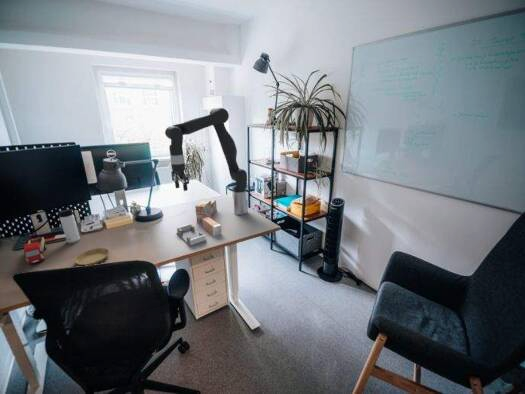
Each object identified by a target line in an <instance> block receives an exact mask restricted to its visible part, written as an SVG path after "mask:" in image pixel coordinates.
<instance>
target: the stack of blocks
mask: <svg viewBox="0 0 525 394" xmlns="http://www.w3.org/2000/svg"><path fill="white" fill-rule="evenodd" d="M217 211H218V209H217V199H212V198H211V199H202V200H201V201H199V202H197V204H195V215H196V216H195V217H196V223H202V224H203V221H202V219H203V218H207V217H209V218H211V219H212V216H214V215H215V214H216V212H217Z"/></svg>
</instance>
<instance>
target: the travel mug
mask: <svg viewBox="0 0 525 394" xmlns="http://www.w3.org/2000/svg"><path fill="white" fill-rule="evenodd" d="M57 213H58V216H59V220H60V223H61V226H62V230H63V234H64V236H65V239H66V242H67V244H75V243H78V242H80V241H81V237H80V236H81V235H80V233H79V229H78V226H77V221H76V218H75V216H74V213H73V210H72V208H67V209H63V210H59V211H58V212H57Z"/></svg>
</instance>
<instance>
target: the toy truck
mask: <svg viewBox="0 0 525 394" xmlns="http://www.w3.org/2000/svg"><path fill="white" fill-rule="evenodd" d="M45 240H46V239H45V238H44V236H41V237H38V238H32V239H29V240H28V243H27V244H25V245H24V247H23V248H24V249H23V253H24V256H25V260H26V262H27V263H28V264H34V263H38V262H41V261H45V258H46V257H45V255H44V253H45V250H47V244H46V241H45Z"/></svg>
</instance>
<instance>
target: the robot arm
mask: <svg viewBox="0 0 525 394" xmlns="http://www.w3.org/2000/svg"><path fill="white" fill-rule="evenodd" d="M229 115H230V114H229V112H228V110H227V109H225V108H223V107H214V108H212V109H210V111H209V114H207V115H204V116H200V117H196V118H191V119H189V120H186V121H184V122H181V123H176V124H172V125H170V126H168V127H167V128H166V129H165V131H164V133H165V136H166V138H168V139H170V144H169V155H170V159H169V160H170V164H171V165H170V166H171V172H170V173H171V180H172V181H173V182H174V183H175V184H174V186H175V189H179V188H180V183H182V187H183V188H182V190H183V191H184V192H186V191H188V185H189V184H190V179H189V173H185V171H186V161H185V156H184V149H183V142H184V136H186V135H192V134H193V133H196V132H198V131H200V130H203V129H206V128H208V127H212V126H213V128H214V130H215V132H216V136H217V138H218V141H219V144H220V148H221V150H222V153H223V155H224V158H225V160H226V165H227V168H228V172H229V176H230V178H231V180H233V181H235V185H234V186H233V187H232V193H233V211H234V214H235V215H236V216H244V215H246V214H247V213H249V208H248V206H249V205H248V202H249V201H248V200H247V187H248V173H247V171H246V170H245V169H242V168H240V167H239V165H238V162H237V155H238V150H237V145H236V142H235V140H234V138H233V137H232V135H231V134H230V132H228V130H227V128H226V126H225V123H227V121H229V117H230V116H229Z"/></svg>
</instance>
